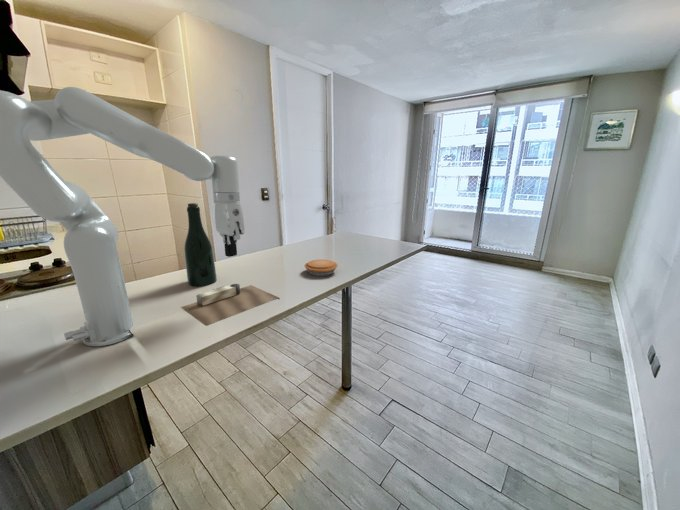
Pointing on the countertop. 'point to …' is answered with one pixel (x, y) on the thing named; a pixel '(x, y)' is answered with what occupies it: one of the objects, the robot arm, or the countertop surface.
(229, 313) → the brown wooden flat board
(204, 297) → the folding leg
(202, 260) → the green wine bottle
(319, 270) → the pie
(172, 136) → the robot arm
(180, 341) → the countertop surface
